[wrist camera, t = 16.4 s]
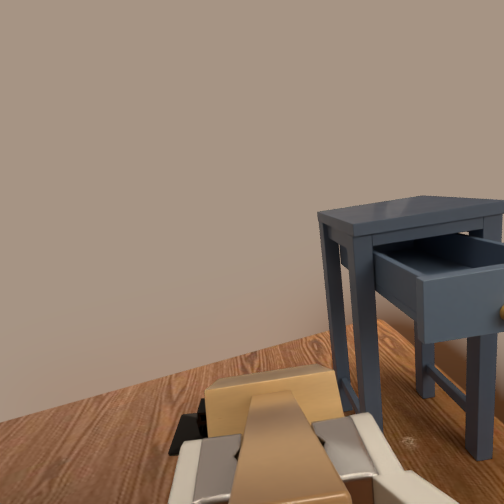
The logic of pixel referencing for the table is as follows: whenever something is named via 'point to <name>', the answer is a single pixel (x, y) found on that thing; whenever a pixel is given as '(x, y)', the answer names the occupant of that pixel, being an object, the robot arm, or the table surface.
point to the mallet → (279, 434)
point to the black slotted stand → (190, 428)
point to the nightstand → (419, 296)
